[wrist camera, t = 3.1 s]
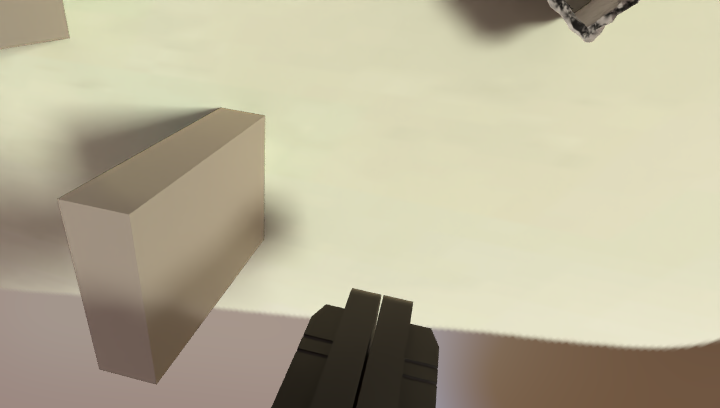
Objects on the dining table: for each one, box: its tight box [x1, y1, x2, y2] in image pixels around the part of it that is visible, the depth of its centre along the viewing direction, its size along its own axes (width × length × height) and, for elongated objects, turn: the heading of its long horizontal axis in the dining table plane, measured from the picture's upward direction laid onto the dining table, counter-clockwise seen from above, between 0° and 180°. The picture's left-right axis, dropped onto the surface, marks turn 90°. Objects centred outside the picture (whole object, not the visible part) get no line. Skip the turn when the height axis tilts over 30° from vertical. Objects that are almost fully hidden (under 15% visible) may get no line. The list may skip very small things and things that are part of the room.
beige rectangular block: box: [57, 108, 265, 384], centre depth 13 cm, size 5×2×7 cm, turn 173°
